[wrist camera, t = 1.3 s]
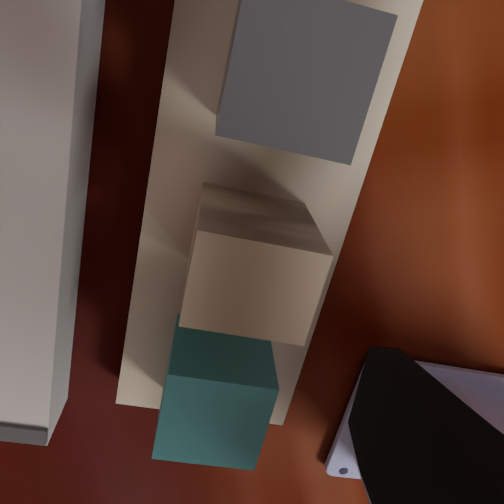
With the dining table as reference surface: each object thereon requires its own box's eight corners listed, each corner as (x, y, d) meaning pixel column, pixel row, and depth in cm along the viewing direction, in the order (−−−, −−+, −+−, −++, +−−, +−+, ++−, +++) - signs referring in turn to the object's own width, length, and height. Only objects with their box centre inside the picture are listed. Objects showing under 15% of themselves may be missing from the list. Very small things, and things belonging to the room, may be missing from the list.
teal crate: (268, 328, 20) (279, 390, 17) (248, 399, 22) (254, 470, 18) (177, 313, 20) (168, 374, 16) (163, 388, 21) (151, 458, 18)
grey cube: (356, 22, 16) (398, 14, 12) (322, 140, 17) (350, 165, 14) (240, -9, 15) (247, -27, 11) (216, 115, 17) (215, 135, 13)
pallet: (404, -3, 17) (513, -32, 11) (278, 397, 24) (298, 520, 18) (189, -64, 16) (170, -137, 10) (123, 375, 23) (87, 499, 17)
